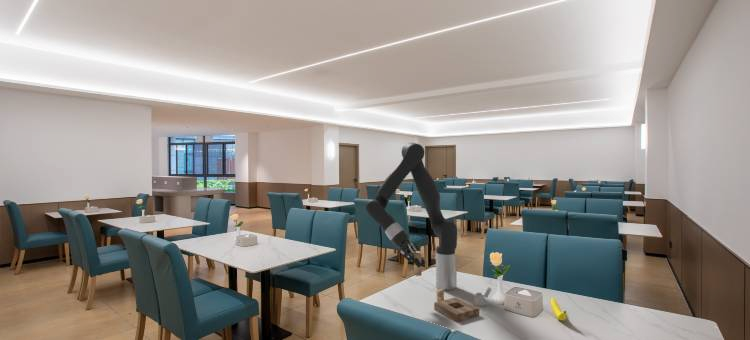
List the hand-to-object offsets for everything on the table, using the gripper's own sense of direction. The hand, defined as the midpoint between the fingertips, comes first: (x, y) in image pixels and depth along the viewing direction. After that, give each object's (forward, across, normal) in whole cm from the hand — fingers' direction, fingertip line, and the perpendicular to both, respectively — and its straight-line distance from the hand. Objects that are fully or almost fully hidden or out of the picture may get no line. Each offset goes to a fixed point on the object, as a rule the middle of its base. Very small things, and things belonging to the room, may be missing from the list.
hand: (422, 265), depth 163 cm
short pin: (+16, +8, +9) cm, 20 cm away
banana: (+50, +14, -25) cm, 57 cm away
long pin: (+2, 0, +5) cm, 5 cm away
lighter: (+29, +12, -4) cm, 32 cm away
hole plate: (+23, -1, +1) cm, 23 cm away
